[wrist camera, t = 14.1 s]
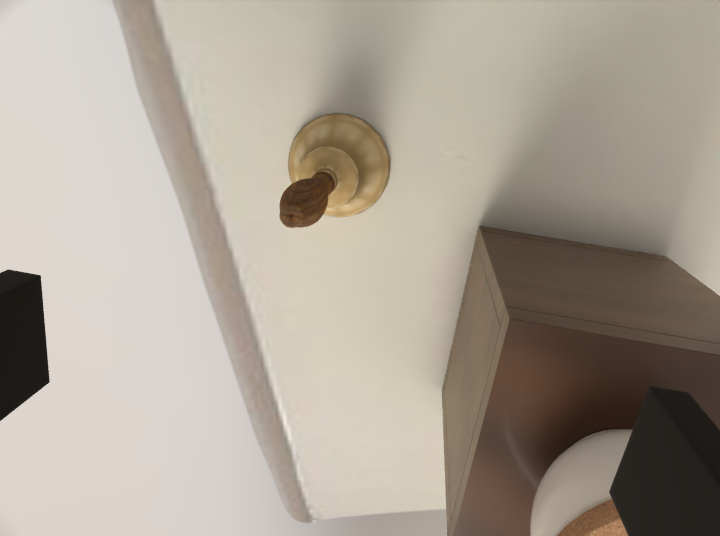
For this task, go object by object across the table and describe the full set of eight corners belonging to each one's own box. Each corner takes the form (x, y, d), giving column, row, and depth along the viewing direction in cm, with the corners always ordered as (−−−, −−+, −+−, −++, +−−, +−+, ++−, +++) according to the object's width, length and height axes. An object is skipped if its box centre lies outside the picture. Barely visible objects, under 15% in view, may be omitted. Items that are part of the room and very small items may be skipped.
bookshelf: (478, 225, 43) (509, 318, 26) (666, 256, 42) (826, 374, 25) (441, 391, 48) (447, 556, 32) (607, 422, 47) (704, 610, 30)
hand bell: (407, 188, 43) (395, 245, 28) (320, 232, 45) (265, 307, 30) (359, 93, 41) (318, 99, 26) (270, 144, 43) (185, 177, 28)
